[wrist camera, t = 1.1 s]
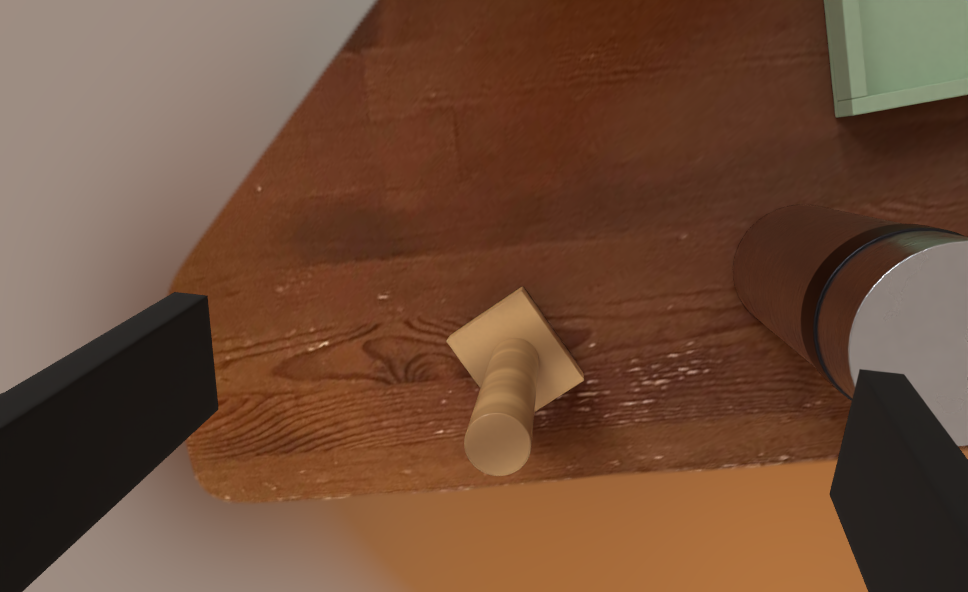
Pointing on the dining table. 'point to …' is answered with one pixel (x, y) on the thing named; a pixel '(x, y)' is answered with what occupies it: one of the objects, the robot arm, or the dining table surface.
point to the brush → (511, 379)
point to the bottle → (864, 300)
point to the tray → (896, 52)
